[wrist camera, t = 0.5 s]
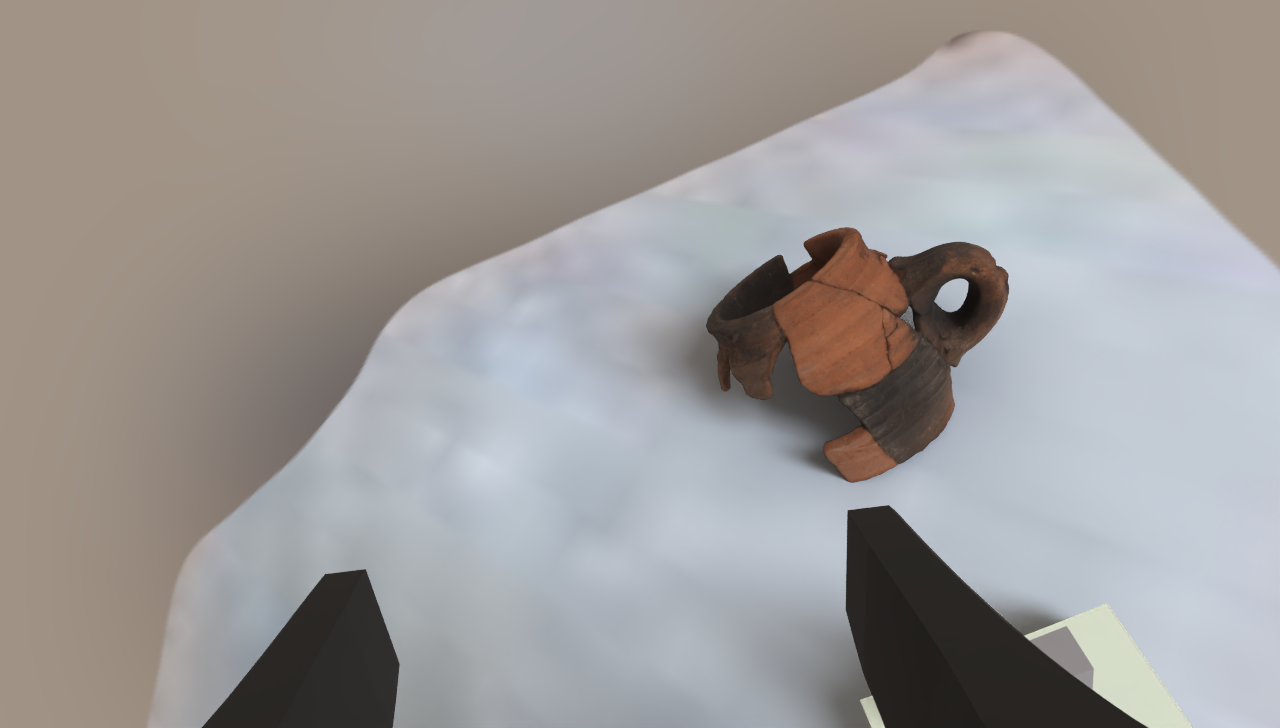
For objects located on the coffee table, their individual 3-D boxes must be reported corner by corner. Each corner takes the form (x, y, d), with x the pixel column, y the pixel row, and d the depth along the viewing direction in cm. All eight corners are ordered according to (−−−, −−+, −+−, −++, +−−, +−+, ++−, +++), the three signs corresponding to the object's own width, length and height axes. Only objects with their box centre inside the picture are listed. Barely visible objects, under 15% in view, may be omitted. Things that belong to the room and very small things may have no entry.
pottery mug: (790, 531, 36) (676, 372, 34) (788, 423, 44) (698, 290, 42) (1082, 395, 32) (974, 203, 29) (1018, 304, 40) (931, 151, 38)
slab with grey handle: (1196, 781, 26) (1226, 697, 21) (937, 876, 26) (906, 818, 21) (1104, 642, 29) (1112, 540, 24) (874, 730, 30) (835, 650, 25)
